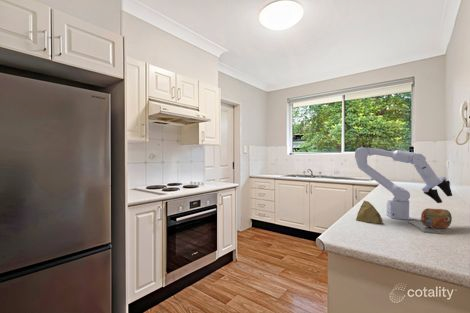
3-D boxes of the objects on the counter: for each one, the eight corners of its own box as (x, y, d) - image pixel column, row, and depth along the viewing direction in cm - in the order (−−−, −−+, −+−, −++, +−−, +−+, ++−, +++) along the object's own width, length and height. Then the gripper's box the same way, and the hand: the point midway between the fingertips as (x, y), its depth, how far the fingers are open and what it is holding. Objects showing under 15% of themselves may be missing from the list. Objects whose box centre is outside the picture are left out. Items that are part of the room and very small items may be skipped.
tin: (425, 227, 99) (428, 208, 99) (418, 225, 102) (420, 206, 102) (451, 228, 103) (454, 210, 102) (443, 226, 106) (446, 208, 105)
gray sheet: (423, 232, 97) (423, 230, 97) (408, 222, 111) (408, 220, 111) (440, 233, 95) (440, 231, 95) (422, 223, 110) (422, 221, 110)
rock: (389, 218, 110) (369, 210, 119) (384, 205, 107) (364, 199, 116) (375, 233, 107) (356, 224, 116) (370, 221, 104) (351, 213, 113)
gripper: (425, 179, 109) (443, 204, 106) (445, 167, 113) (463, 191, 110) (412, 181, 116) (429, 206, 113) (431, 170, 119) (448, 193, 116)
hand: (445, 199), depth 112 cm, fingers open, 7 cm apart
